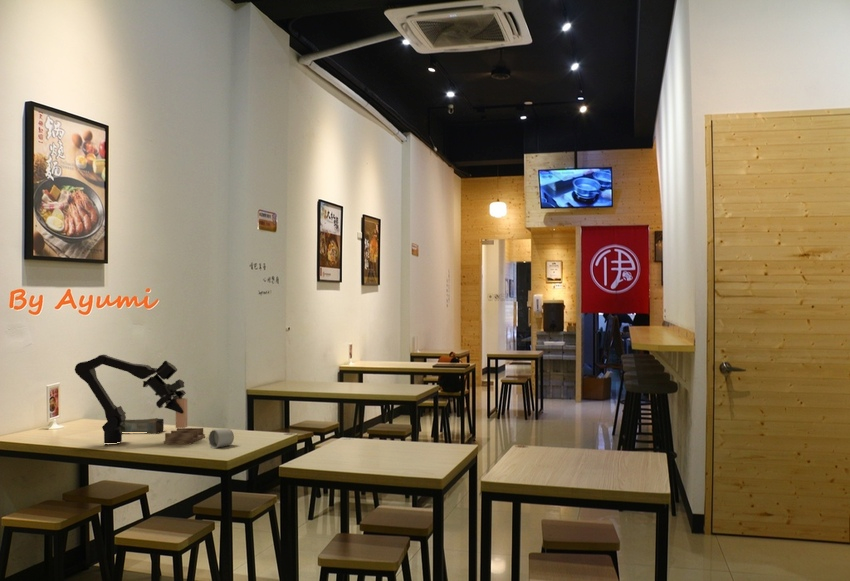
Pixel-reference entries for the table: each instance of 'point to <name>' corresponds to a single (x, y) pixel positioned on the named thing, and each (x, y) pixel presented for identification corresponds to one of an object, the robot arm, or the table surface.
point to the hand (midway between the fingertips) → (184, 412)
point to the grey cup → (220, 438)
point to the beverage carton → (143, 425)
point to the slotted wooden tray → (184, 436)
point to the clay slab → (182, 418)
